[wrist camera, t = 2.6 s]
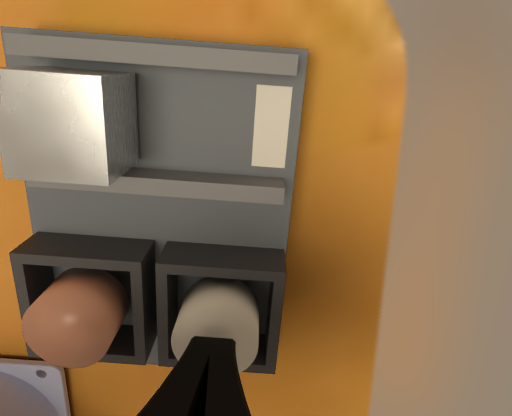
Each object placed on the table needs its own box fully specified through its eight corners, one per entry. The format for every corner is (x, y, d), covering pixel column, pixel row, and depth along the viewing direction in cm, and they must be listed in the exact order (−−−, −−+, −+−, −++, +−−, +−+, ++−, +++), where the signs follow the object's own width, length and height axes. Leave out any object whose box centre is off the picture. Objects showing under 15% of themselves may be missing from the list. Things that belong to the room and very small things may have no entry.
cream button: (182, 337, 16) (171, 375, 14) (182, 273, 14) (170, 304, 13) (256, 342, 16) (255, 381, 14) (262, 278, 14) (261, 311, 13)
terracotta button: (56, 328, 15) (28, 365, 14) (47, 263, 14) (14, 293, 13) (130, 333, 16) (112, 371, 14) (126, 269, 14) (106, 300, 13)
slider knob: (54, 155, 14) (4, 178, 11) (43, 65, 12) (-16, 67, 10) (138, 161, 14) (108, 186, 11) (134, 72, 13) (101, 75, 10)
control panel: (72, 328, 19) (29, 389, 16) (34, 30, 14) (-42, 20, 11) (271, 342, 19) (273, 406, 16) (302, 50, 14) (315, 47, 11)
